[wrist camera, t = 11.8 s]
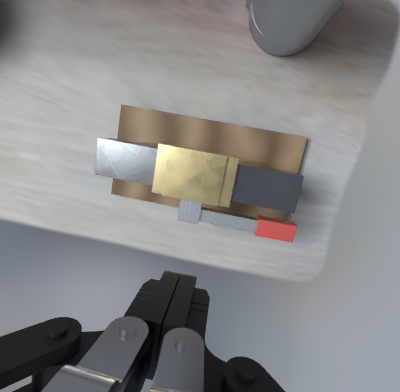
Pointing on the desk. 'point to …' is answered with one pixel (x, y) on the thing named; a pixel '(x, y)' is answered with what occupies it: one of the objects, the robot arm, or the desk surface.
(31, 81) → the desk surface
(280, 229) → the valve lever
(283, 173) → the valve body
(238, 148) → the base board
